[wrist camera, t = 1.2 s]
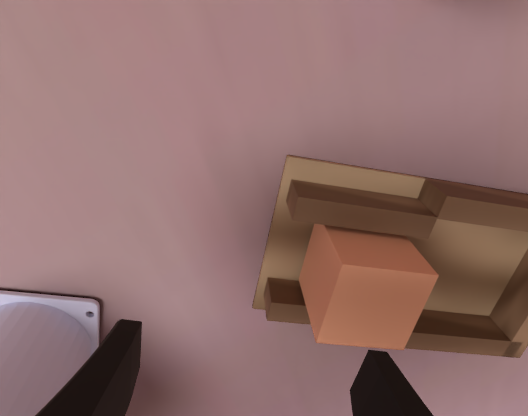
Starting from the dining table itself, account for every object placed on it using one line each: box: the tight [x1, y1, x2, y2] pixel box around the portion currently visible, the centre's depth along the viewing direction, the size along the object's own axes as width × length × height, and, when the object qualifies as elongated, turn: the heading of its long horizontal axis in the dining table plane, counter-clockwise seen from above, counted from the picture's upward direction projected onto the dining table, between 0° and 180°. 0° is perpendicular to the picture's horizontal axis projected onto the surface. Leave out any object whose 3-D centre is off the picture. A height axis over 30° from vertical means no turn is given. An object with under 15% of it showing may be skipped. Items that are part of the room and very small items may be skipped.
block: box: [299, 224, 439, 350], centre depth 22 cm, size 5×5×6 cm
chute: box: [252, 155, 528, 358], centre depth 24 cm, size 11×19×3 cm, turn 79°
